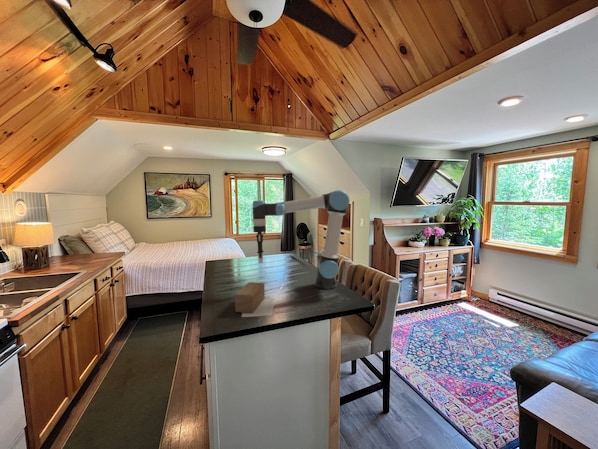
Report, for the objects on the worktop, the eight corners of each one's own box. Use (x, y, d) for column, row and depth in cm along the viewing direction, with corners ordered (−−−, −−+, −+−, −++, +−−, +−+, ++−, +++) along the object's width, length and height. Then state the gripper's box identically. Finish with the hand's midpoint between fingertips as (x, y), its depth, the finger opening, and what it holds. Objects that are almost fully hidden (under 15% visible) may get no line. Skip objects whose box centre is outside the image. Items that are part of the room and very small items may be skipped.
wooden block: (265, 298, 147) (252, 314, 128) (249, 297, 149) (234, 312, 130) (264, 282, 147) (252, 295, 127) (248, 281, 148) (234, 293, 129)
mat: (273, 299, 148) (273, 298, 148) (273, 315, 127) (273, 314, 127) (245, 300, 146) (245, 299, 146) (241, 317, 125) (241, 316, 125)
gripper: (253, 224, 160) (255, 260, 163) (252, 226, 148) (254, 265, 150) (265, 224, 161) (266, 260, 164) (265, 226, 148) (266, 265, 151)
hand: (260, 262), depth 157 cm, fingers closed
